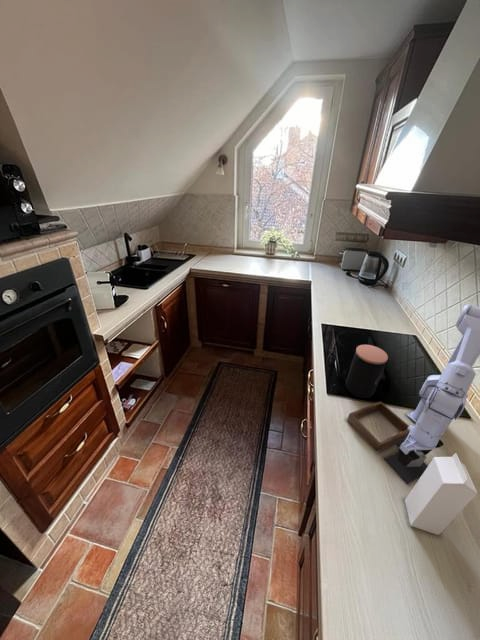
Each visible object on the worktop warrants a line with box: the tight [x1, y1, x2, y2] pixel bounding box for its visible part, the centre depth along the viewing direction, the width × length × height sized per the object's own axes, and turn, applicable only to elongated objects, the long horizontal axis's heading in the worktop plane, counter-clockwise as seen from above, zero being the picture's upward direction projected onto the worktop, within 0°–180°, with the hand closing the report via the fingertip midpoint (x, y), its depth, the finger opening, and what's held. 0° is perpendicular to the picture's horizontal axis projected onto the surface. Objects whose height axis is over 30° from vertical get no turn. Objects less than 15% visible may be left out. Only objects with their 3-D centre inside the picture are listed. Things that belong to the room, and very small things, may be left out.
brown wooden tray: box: [346, 401, 410, 453], centre depth 84 cm, size 15×13×4 cm
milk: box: [404, 452, 478, 536], centre depth 58 cm, size 6×6×22 cm
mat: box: [383, 450, 429, 485], centre depth 74 cm, size 10×8×1 cm
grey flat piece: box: [406, 450, 427, 467], centre depth 72 cm, size 7×2×8 cm, turn 92°
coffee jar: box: [345, 344, 389, 399], centre depth 96 cm, size 11×11×18 cm
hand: (411, 457), depth 73 cm, fingers closed on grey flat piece, 7 cm apart
